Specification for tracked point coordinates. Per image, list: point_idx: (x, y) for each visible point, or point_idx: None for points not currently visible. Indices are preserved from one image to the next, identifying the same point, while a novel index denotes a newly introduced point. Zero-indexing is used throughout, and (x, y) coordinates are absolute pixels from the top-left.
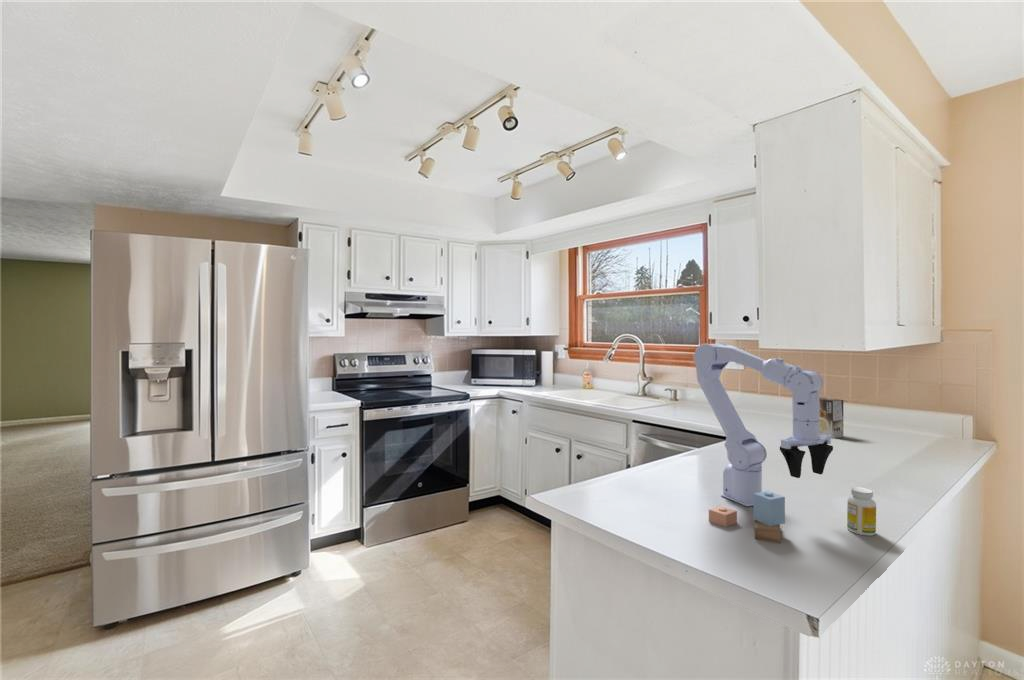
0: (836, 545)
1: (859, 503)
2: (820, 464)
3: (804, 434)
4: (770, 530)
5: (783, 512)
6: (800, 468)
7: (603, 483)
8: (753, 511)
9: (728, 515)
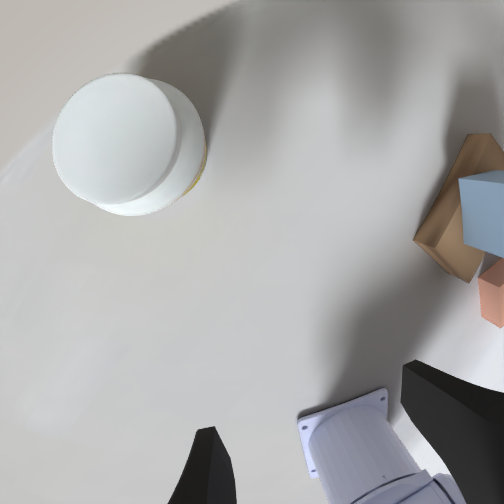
0: (345, 71)
1: (186, 98)
2: (215, 483)
3: None
4: (500, 151)
5: (488, 180)
6: (448, 388)
7: None
8: None
9: None
